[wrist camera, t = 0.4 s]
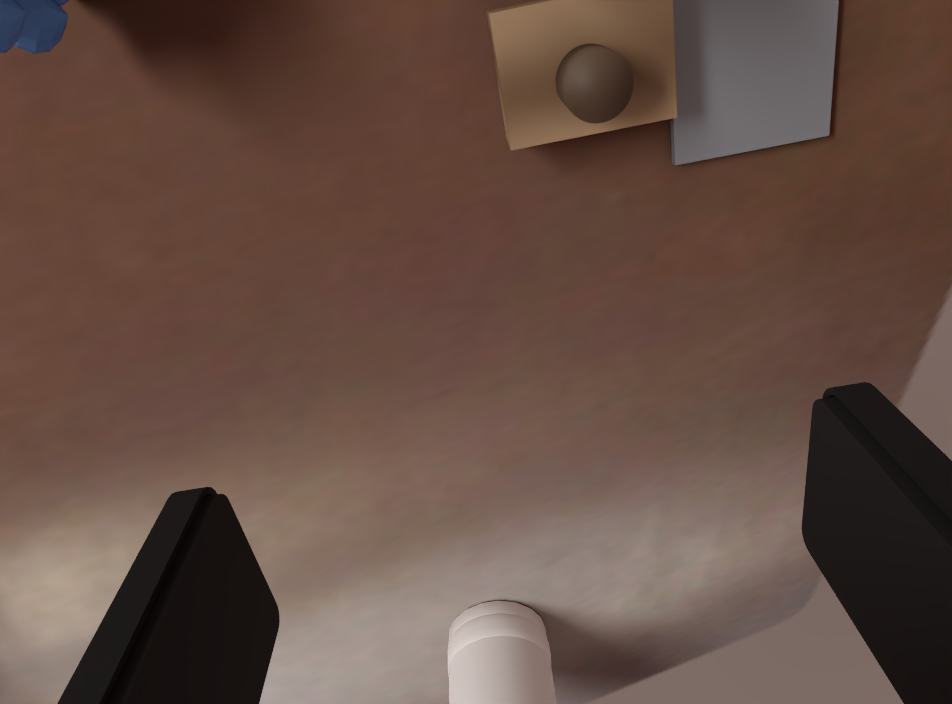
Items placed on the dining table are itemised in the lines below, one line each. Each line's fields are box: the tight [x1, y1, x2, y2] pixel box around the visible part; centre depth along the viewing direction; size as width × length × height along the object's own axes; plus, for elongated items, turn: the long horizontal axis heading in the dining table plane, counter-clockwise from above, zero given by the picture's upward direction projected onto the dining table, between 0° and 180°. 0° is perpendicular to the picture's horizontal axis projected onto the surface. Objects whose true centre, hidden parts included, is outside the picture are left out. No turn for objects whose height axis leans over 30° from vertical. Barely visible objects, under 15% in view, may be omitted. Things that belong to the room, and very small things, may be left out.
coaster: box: [670, 0, 839, 165], centre depth 34 cm, size 8×8×1 cm
